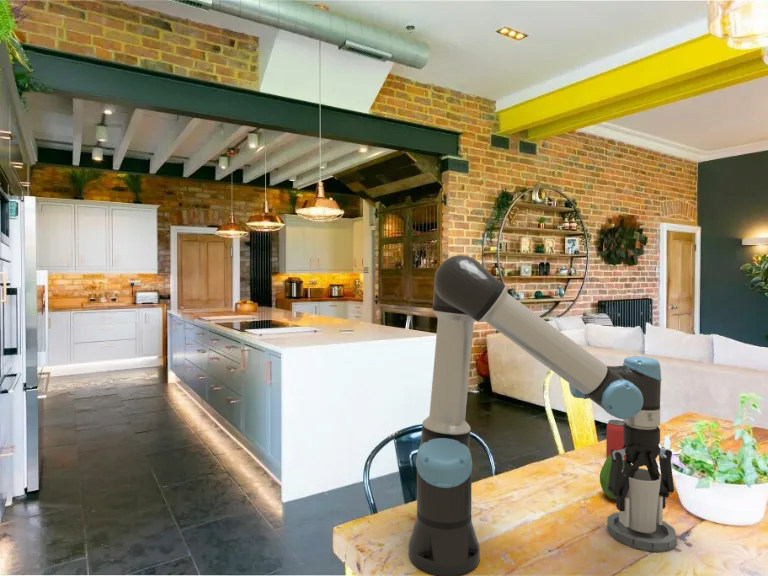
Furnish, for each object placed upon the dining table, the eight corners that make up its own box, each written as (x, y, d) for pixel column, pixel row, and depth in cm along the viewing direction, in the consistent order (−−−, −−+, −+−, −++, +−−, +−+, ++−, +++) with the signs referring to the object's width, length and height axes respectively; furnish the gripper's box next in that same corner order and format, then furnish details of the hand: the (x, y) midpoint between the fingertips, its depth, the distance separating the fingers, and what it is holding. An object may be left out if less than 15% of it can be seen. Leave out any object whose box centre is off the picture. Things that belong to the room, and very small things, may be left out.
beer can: (612, 453, 165) (612, 418, 164) (632, 459, 160) (632, 422, 159) (602, 458, 160) (602, 421, 160) (622, 464, 155) (623, 426, 155)
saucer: (630, 554, 105) (630, 544, 105) (595, 521, 119) (595, 513, 119) (690, 550, 107) (690, 541, 107) (649, 518, 121) (649, 510, 121)
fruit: (632, 495, 133) (632, 451, 133) (633, 508, 126) (633, 461, 126) (599, 490, 137) (600, 447, 136) (599, 502, 129) (599, 457, 129)
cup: (665, 536, 108) (666, 482, 108) (626, 532, 110) (627, 479, 109) (653, 518, 116) (654, 468, 116) (617, 515, 118) (617, 466, 117)
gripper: (609, 431, 107) (608, 534, 108) (694, 428, 110) (693, 528, 110) (591, 421, 115) (590, 517, 115) (671, 418, 117) (670, 512, 118)
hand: (640, 522), depth 113 cm, fingers closed on cup, 7 cm apart
